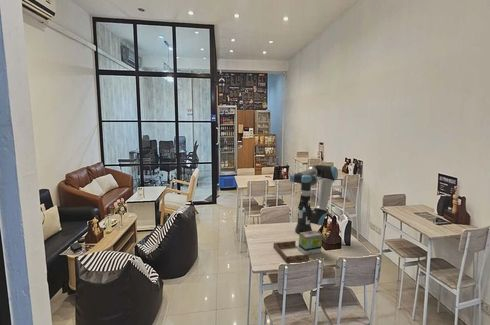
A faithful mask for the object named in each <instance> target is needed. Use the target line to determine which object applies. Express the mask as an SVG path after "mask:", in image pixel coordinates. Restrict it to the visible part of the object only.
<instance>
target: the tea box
mask: <svg viewBox="0 0 490 325" xmlns="http://www.w3.org/2000/svg"><path fill="white" fill-rule="evenodd" d="M322 243H323V234H321V233H320V232H318V231H317V230H312V231H308V232H301V233H300V234H298V248H297V249H298V251H299V252H300V253H302V255H303V254H309V255H313V254H318V253H319V254H320V253H321V252H322V245H323V244H322Z"/></svg>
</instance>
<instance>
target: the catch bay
mask: <svg viewBox="0 0 490 325" xmlns="http://www.w3.org/2000/svg"><path fill="white" fill-rule="evenodd" d="M288 247H296V240H288V241H280V242H273V249H274V250H275V251H276V253H277V254H278V255H279V256H280V257H281V258H282V260H283V261H284V262H285V263H293V262H301V261H309V260H310V254H303V253H302V254H298V255H297V254H295V255H289V256H287V254H285V253H284V251H283V250H282V248H288Z"/></svg>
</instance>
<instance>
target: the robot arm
mask: <svg viewBox="0 0 490 325" xmlns="http://www.w3.org/2000/svg"><path fill="white" fill-rule="evenodd" d="M338 177H339V172H338V168H337V166H332V165H323V164H317V165H313V166H310V167H308V168H307V169H306V170H303V171H301V172H300V171H299V172H297V173H295V172H294V173H290V175H289V181H290V183H295V184H300V197H299V203H298V205H297V206H298V207H297V223H296V226H295V228H294V232H295V234H297V235H299V234H300V233H301V232H308V231H313V229H312V225H313V224H314V225H318V226H322V225H323V222H324V219H325V217H326V215H327V214H329V213H328V209H327V207H328V203H329V198H330V193H331V189H332V186H333V183H335V181H337V180H338ZM318 178H321V186H320V189H319V195H318V199H317V202H316V206H315V207H314V208H313V209H312V207H311V203H310V202H309V201H311V191H312V187H313V186H315V185H316V184H318V180H319V179H318ZM311 224H312V225H311ZM322 227H323V226H322Z"/></svg>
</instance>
